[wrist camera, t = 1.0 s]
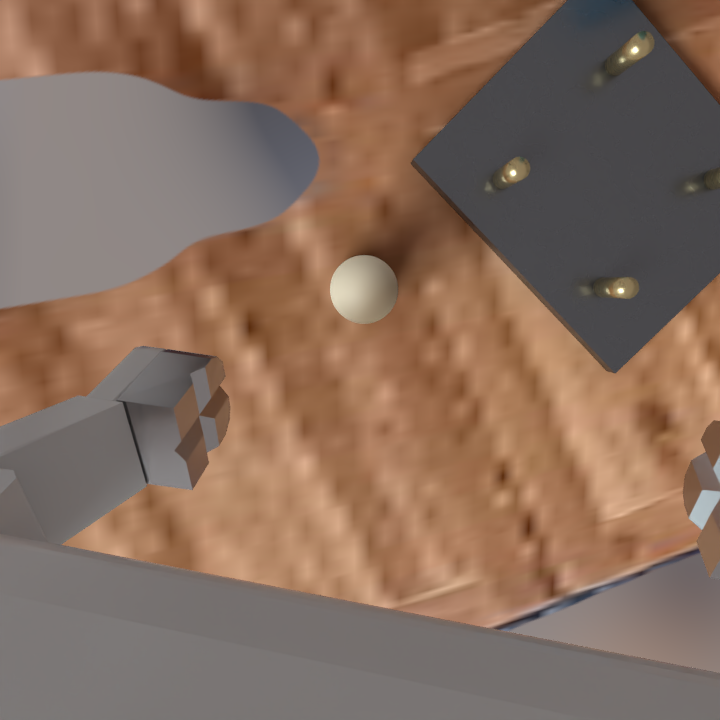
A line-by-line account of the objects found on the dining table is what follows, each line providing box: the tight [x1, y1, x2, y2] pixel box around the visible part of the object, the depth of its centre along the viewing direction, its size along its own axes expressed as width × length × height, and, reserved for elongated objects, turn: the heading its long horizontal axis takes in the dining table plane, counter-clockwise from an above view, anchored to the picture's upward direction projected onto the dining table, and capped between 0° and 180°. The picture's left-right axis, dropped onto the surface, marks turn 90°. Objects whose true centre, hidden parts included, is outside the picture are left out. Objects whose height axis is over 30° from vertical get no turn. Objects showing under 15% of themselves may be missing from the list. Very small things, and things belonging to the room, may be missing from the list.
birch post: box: [330, 255, 398, 324], centre depth 41 cm, size 4×4×10 cm
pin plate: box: [411, 0, 720, 373], centre depth 43 cm, size 24×20×6 cm
